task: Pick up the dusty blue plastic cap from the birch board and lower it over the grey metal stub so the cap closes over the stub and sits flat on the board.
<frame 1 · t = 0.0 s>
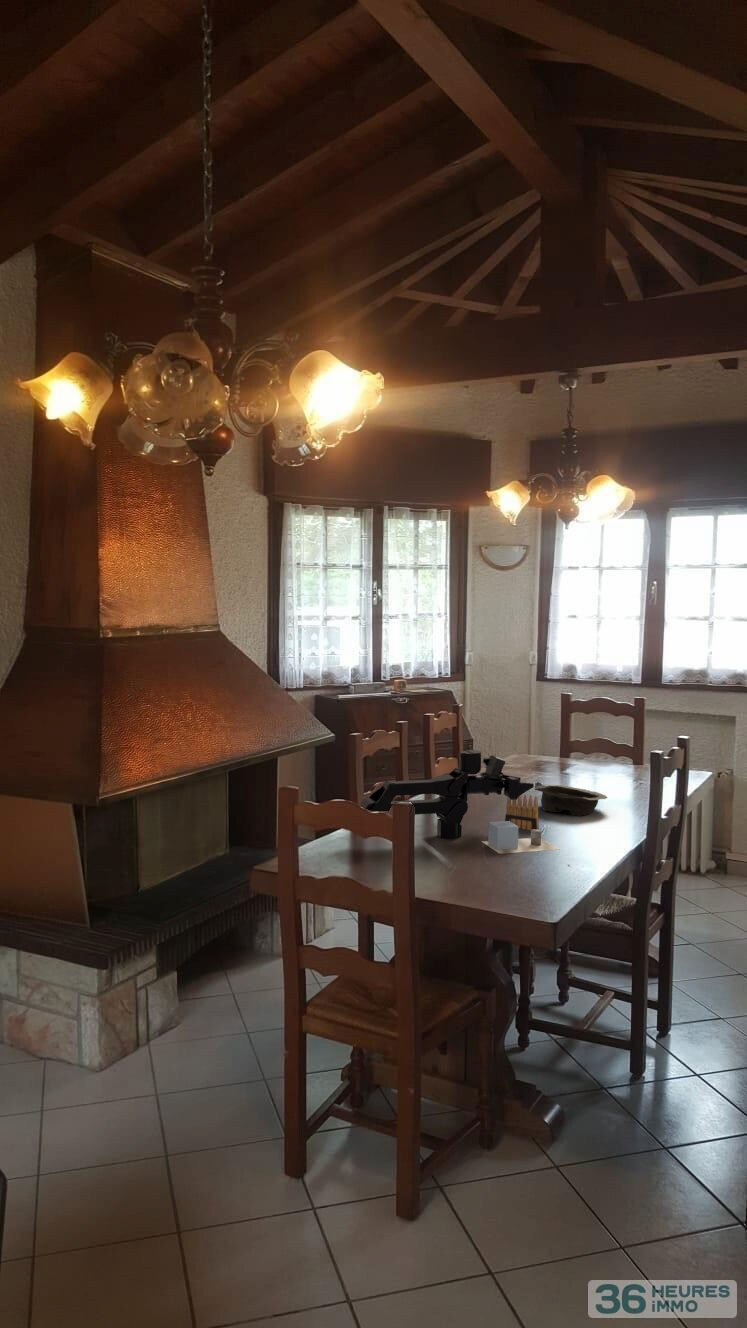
hand: (526, 782, 278), 17 cm above the table, tool horizontal, fingers open, 9 cm apart
ammunition clip: (521, 832, 283), on the table
stone bowl: (570, 811, 312), on the table
housing cap: (502, 846, 262), point 1 cm above the table, touching stub board
stub board: (520, 849, 263), on the table
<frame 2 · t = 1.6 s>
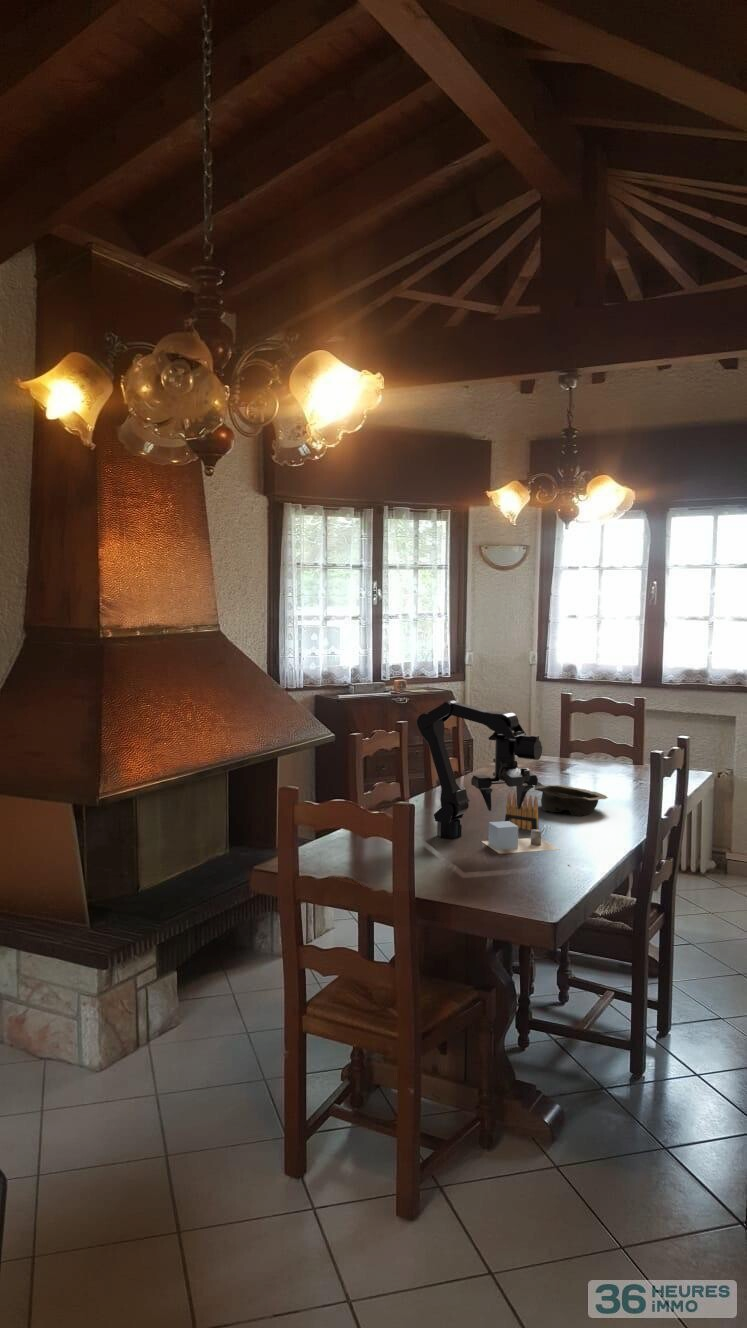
hand: (504, 809, 261), 12 cm above the table, tool pointing down, fingers open, 9 cm apart
nothing on the table moved.
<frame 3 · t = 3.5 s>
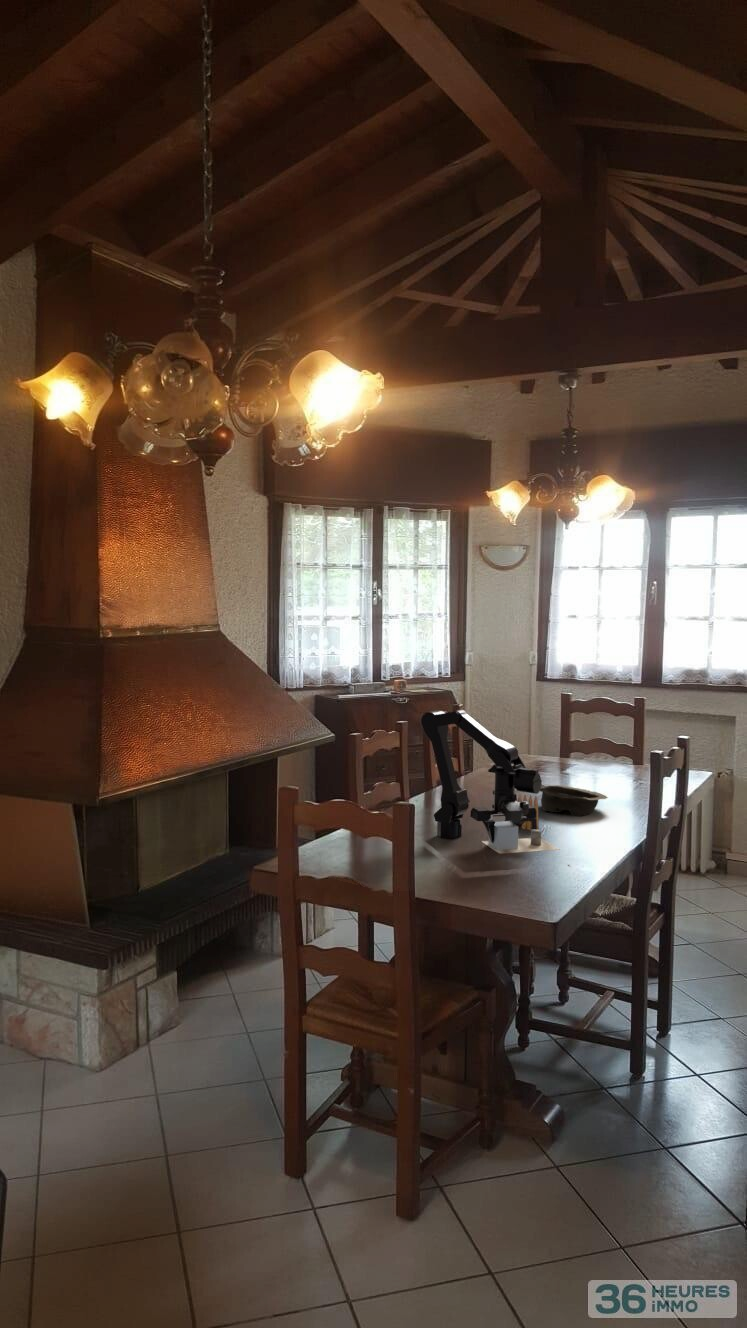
hand: (503, 841, 262), 3 cm above the table, tool pointing down, fingers closed on housing cap, 6 cm apart
housing cap: (502, 846, 262), point 1 cm above the table, touching gripper, stub board
everything else where it was.
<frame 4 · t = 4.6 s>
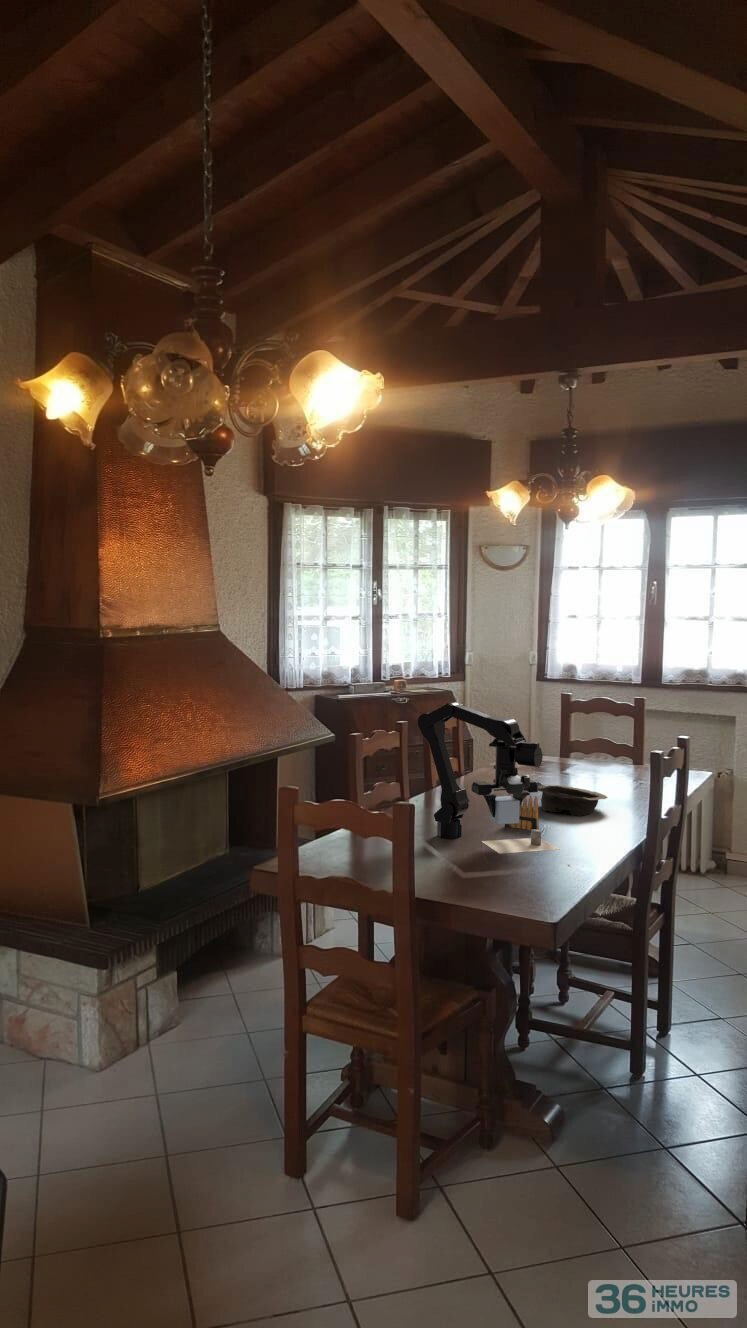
hand: (504, 816, 261), 10 cm above the table, tool pointing down, fingers closed on housing cap, 6 cm apart
housing cap: (504, 820, 261), point 9 cm above the table, touching gripper
everything else where it was.
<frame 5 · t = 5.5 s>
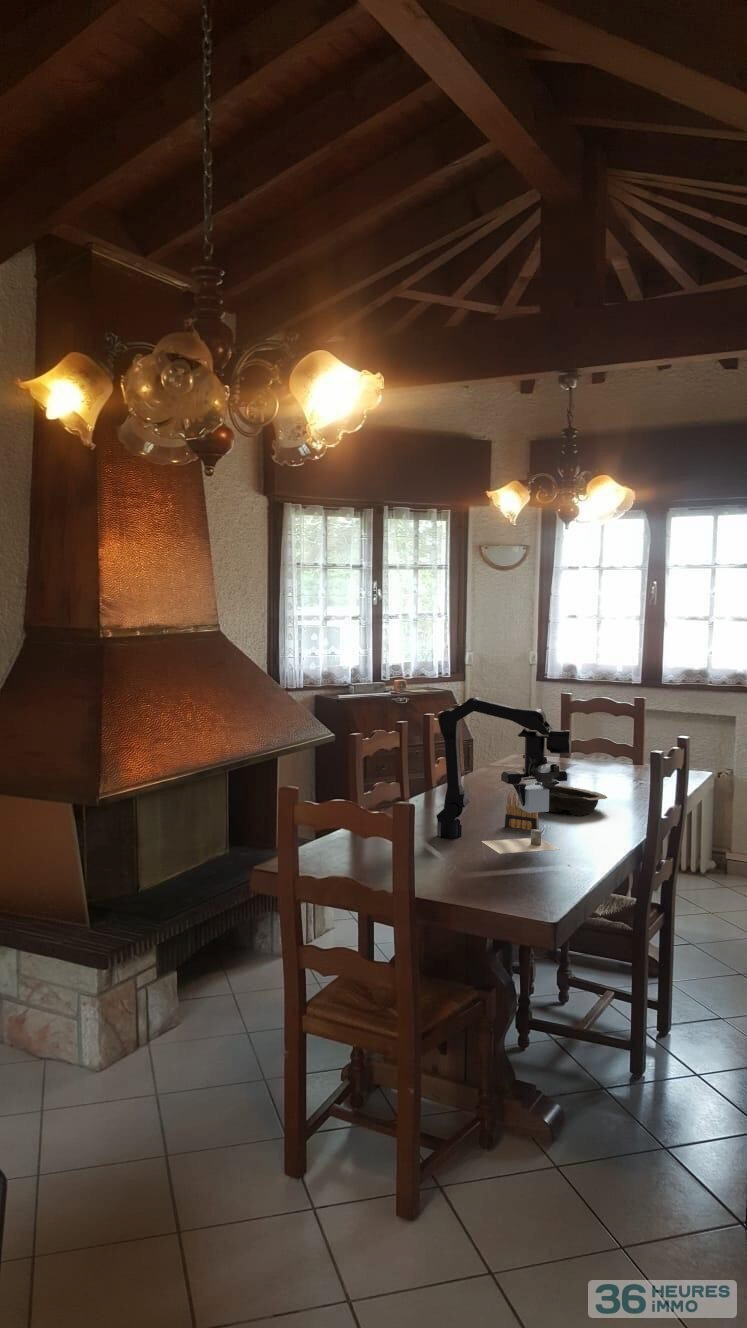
hand: (533, 805, 263), 13 cm above the table, tool pointing down, fingers closed on housing cap, 6 cm apart
housing cap: (533, 809, 263), point 12 cm above the table, touching gripper
everything else where it was.
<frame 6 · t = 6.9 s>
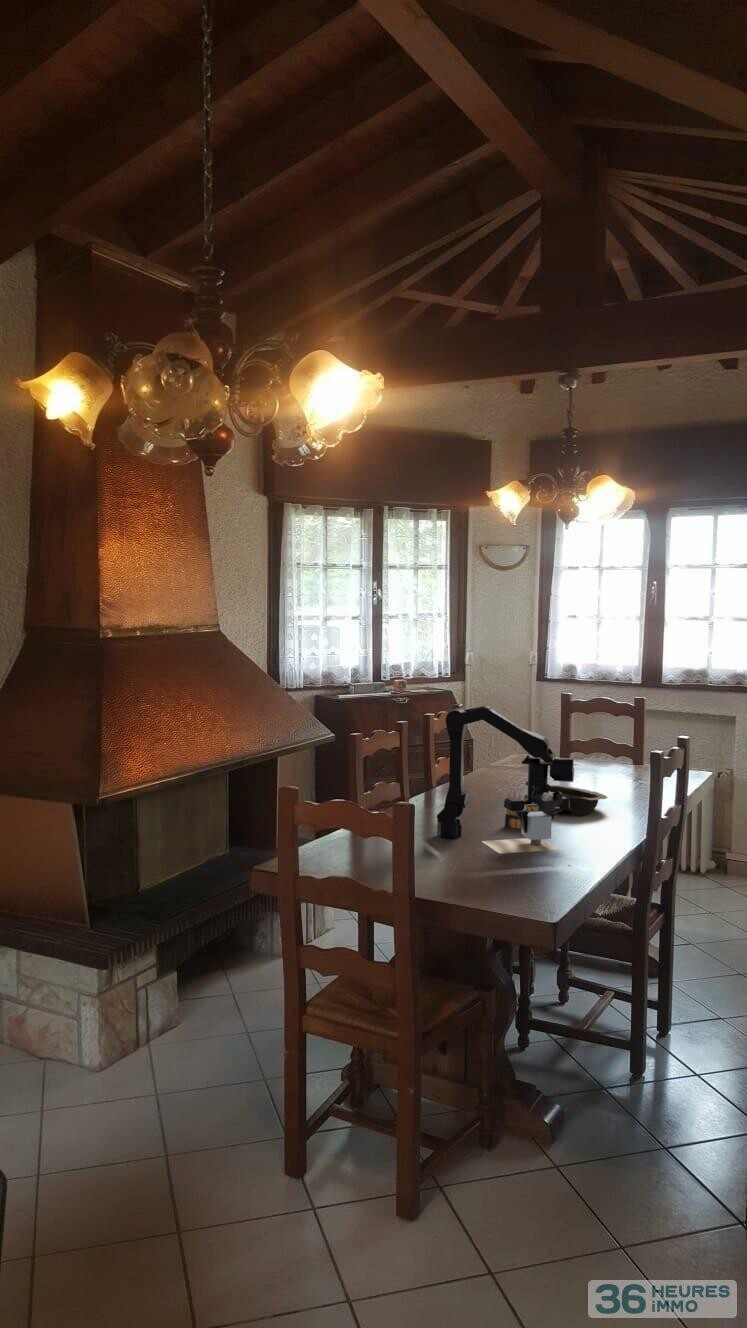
hand: (535, 832, 264), 5 cm above the table, tool pointing down, fingers closed on housing cap, 6 cm apart
housing cap: (535, 836, 264), point 4 cm above the table, touching gripper
everything else where it was.
when the fingers open (3 cm above the table, at t = 8.1 s): housing cap stays where it is, resting on stub board.
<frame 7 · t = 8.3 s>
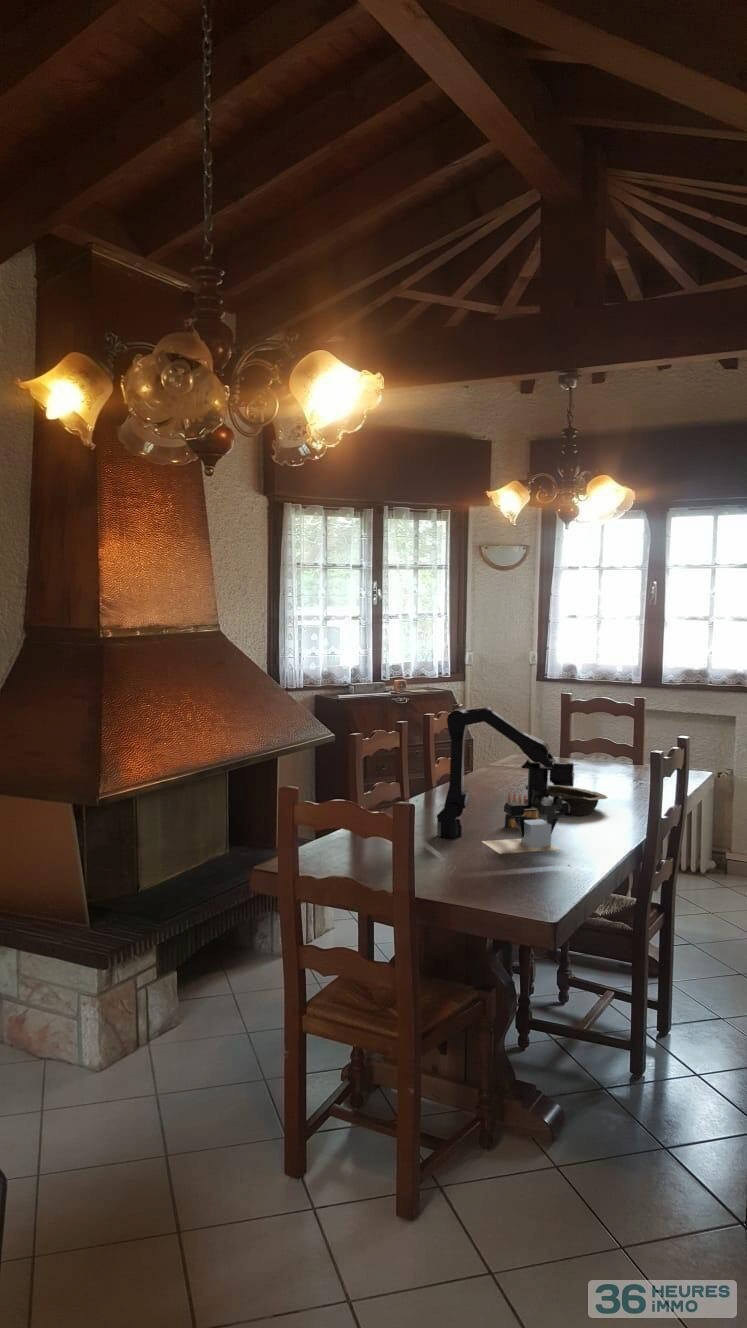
hand: (535, 836, 264), 3 cm above the table, tool pointing down, fingers open, 8 cm apart
housing cap: (535, 844, 265), point 1 cm above the table, touching stub board
everything else where it was.
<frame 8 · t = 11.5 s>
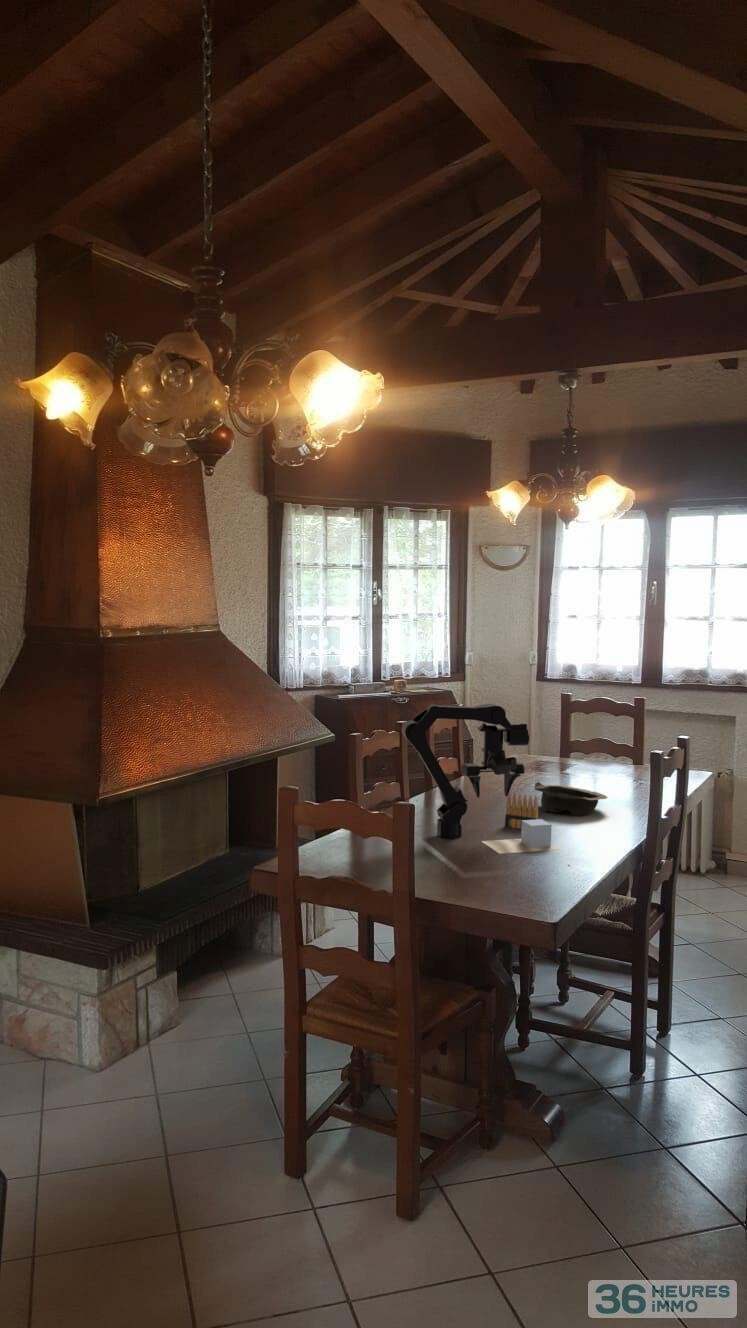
hand: (492, 796, 273), 13 cm above the table, tool pointing down, fingers open, 9 cm apart
nothing on the table moved.
at the end: housing cap 0.1 cm from the target spot on the stub board, point 1.2 cm above the stub board's base; housing cap tilted 0°; the gripper is holding nothing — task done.
